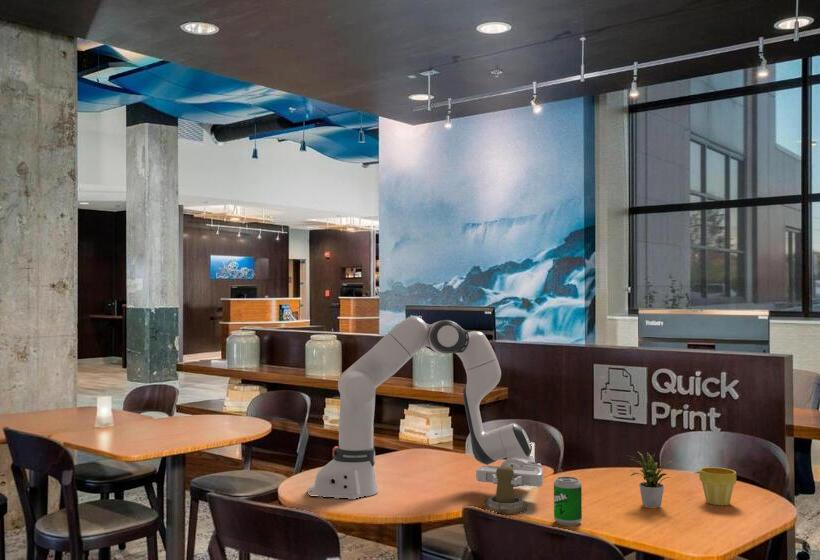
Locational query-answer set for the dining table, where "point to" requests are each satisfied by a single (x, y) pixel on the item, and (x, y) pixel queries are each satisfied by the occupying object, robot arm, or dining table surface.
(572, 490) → the soda can
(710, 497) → the plant pot
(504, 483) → the cork
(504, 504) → the grey octagonal ring
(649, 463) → the house plant
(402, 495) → the dining table surface
